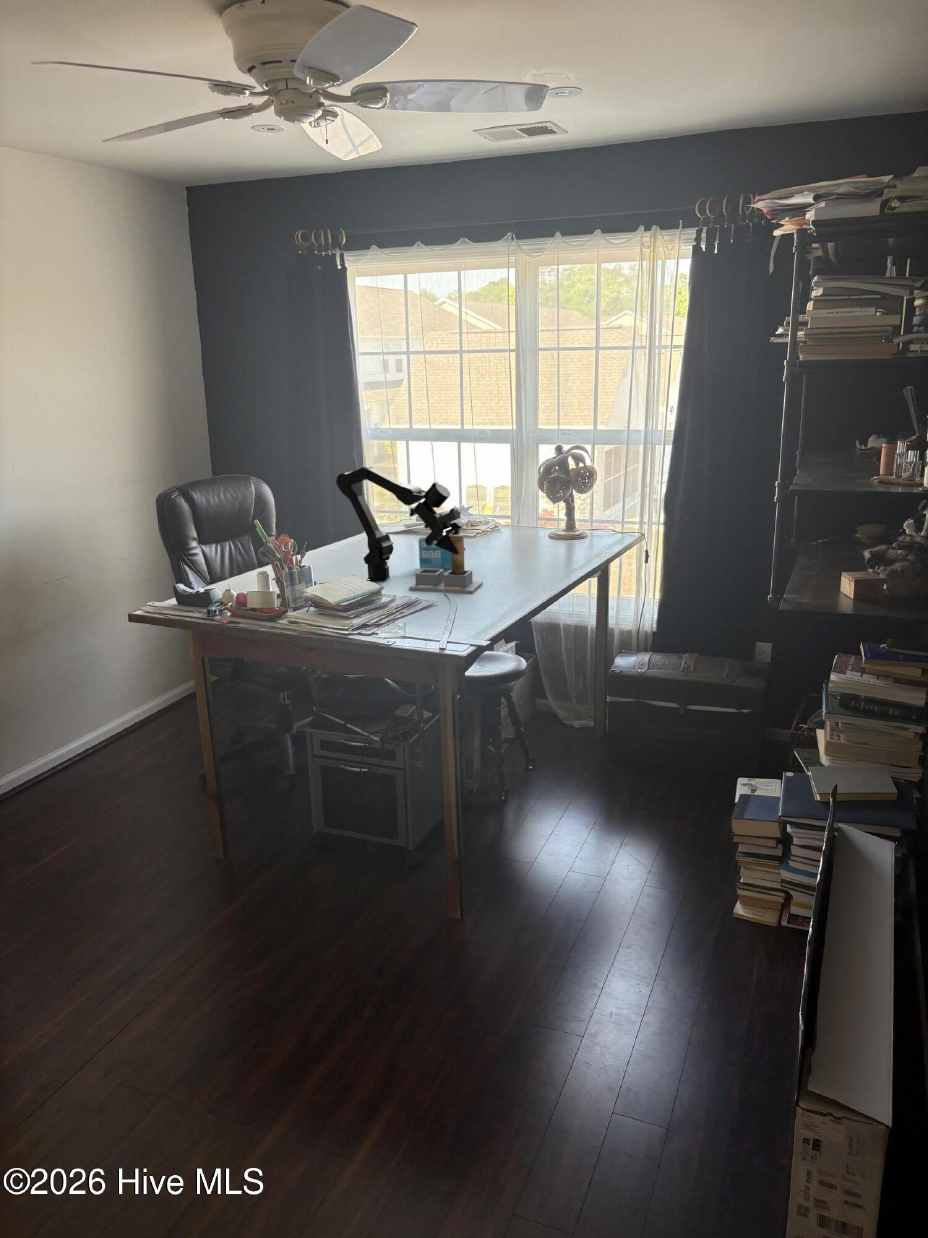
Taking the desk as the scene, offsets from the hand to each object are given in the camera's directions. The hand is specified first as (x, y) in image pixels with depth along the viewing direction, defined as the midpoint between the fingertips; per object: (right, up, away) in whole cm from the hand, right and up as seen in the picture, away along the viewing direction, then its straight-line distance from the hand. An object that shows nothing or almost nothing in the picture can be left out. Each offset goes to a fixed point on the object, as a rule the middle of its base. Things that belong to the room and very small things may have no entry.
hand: (461, 552), depth 295 cm
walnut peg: (-1, -6, +2) cm, 7 cm away
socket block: (-5, -11, +4) cm, 13 cm away
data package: (-9, -4, +31) cm, 32 cm away
